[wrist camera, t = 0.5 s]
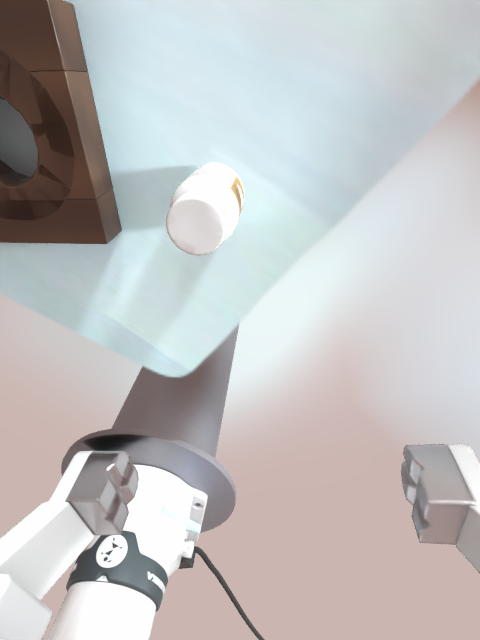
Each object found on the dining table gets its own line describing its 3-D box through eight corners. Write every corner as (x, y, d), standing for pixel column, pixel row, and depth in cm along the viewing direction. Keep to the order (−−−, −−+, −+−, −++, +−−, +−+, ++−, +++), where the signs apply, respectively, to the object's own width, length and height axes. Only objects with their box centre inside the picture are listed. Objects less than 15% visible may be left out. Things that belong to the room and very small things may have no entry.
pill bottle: (237, 228, 28) (223, 271, 21) (183, 212, 28) (153, 251, 21) (252, 171, 25) (242, 201, 19) (193, 153, 25) (162, 177, 19)
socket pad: (122, 230, 29) (107, 244, 26) (-14, 229, 30) (-40, 242, 28) (73, 4, 21) (46, -7, 19) (-107, 13, 22) (-155, 4, 20)
